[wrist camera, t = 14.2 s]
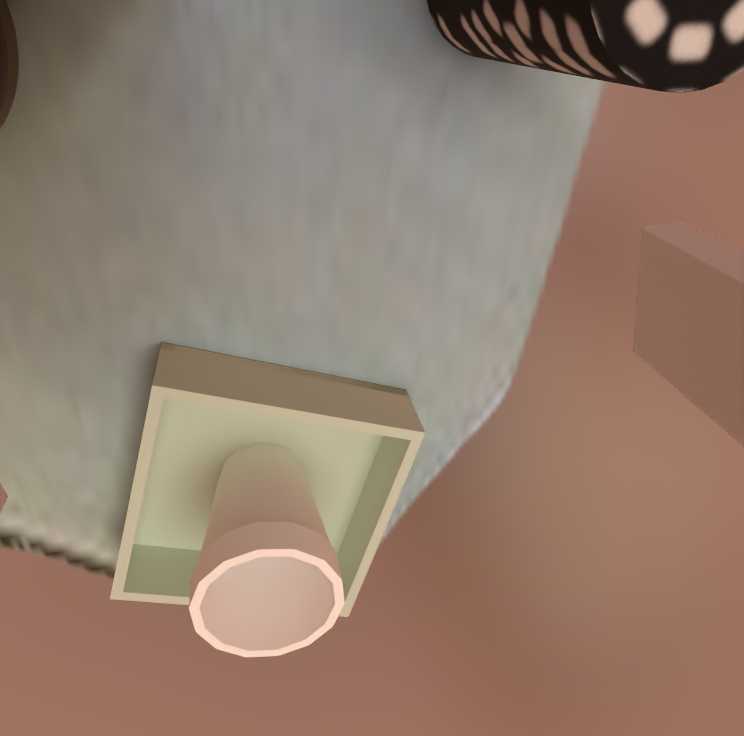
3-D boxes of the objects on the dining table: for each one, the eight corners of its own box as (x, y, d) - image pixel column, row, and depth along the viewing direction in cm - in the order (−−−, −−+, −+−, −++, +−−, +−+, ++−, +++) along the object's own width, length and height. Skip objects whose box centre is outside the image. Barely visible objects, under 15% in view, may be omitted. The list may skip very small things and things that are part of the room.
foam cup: (190, 434, 48) (176, 563, 36) (313, 415, 49) (337, 535, 38) (212, 529, 52) (206, 669, 41) (325, 510, 54) (348, 641, 42)
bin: (122, 541, 52) (109, 599, 47) (161, 342, 45) (152, 385, 40) (338, 563, 58) (348, 616, 53) (405, 389, 50) (425, 432, 45)
